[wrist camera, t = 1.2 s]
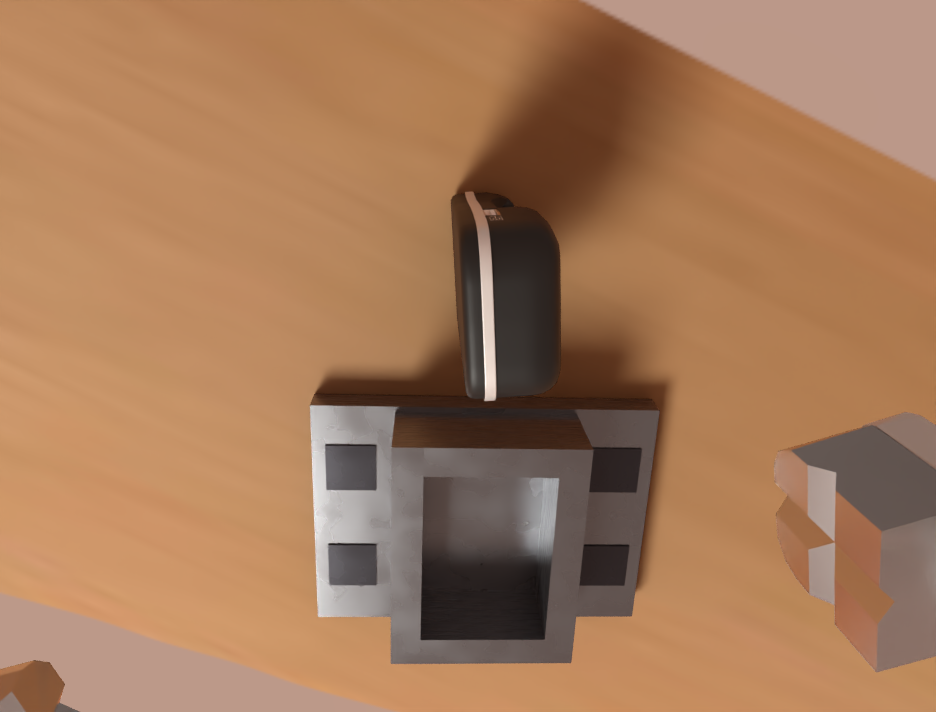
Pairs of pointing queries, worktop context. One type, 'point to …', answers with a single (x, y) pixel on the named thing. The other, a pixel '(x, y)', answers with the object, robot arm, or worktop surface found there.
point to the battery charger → (506, 297)
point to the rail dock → (479, 518)
